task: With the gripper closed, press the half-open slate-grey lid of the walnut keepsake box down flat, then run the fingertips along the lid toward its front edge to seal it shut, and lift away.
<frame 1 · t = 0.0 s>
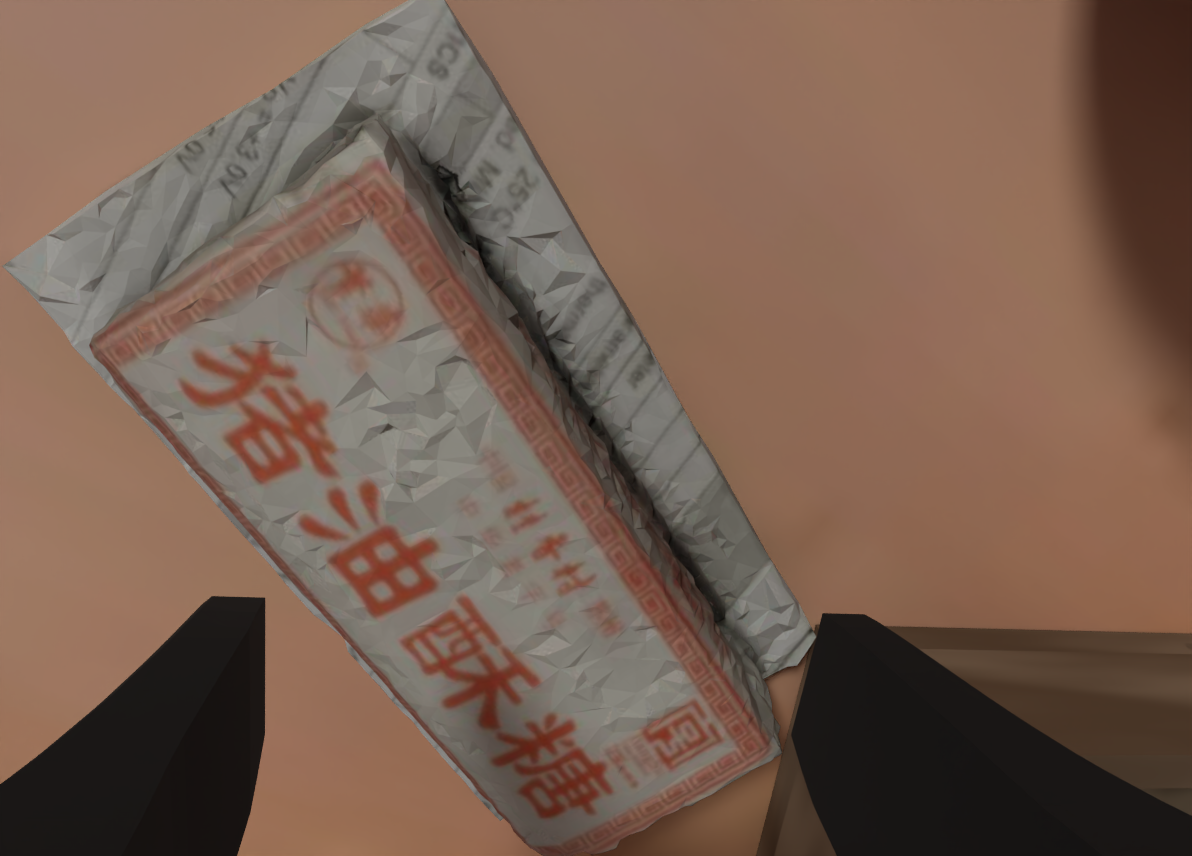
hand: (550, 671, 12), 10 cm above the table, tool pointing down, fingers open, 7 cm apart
box: (940, 845, 29), on the table
packaged product: (472, 455, 23), on the table
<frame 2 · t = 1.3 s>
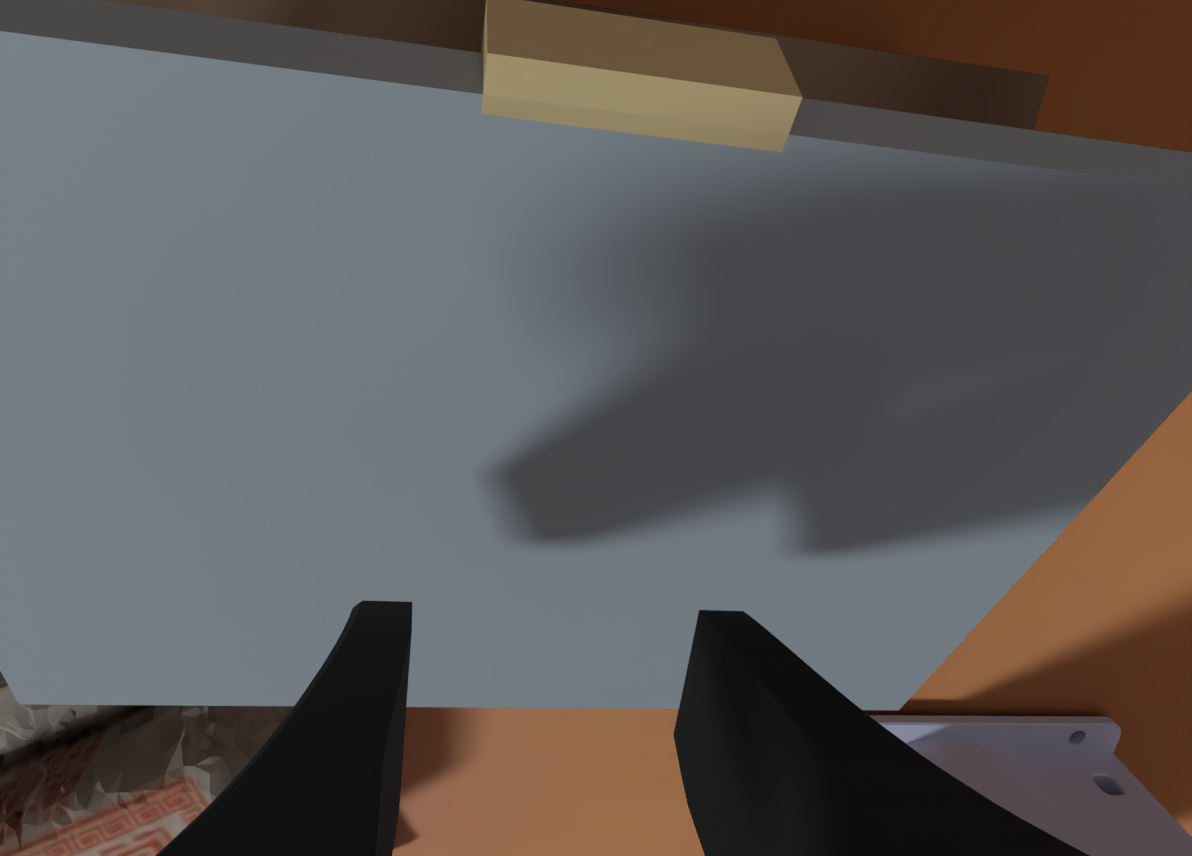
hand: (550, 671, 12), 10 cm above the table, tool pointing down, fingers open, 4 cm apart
box: (509, 303, 21), on the table
lid: (545, 468, 14), point 8 cm above the table, hinge at 25.0°
packaged product: (4, 835, 25), on the table
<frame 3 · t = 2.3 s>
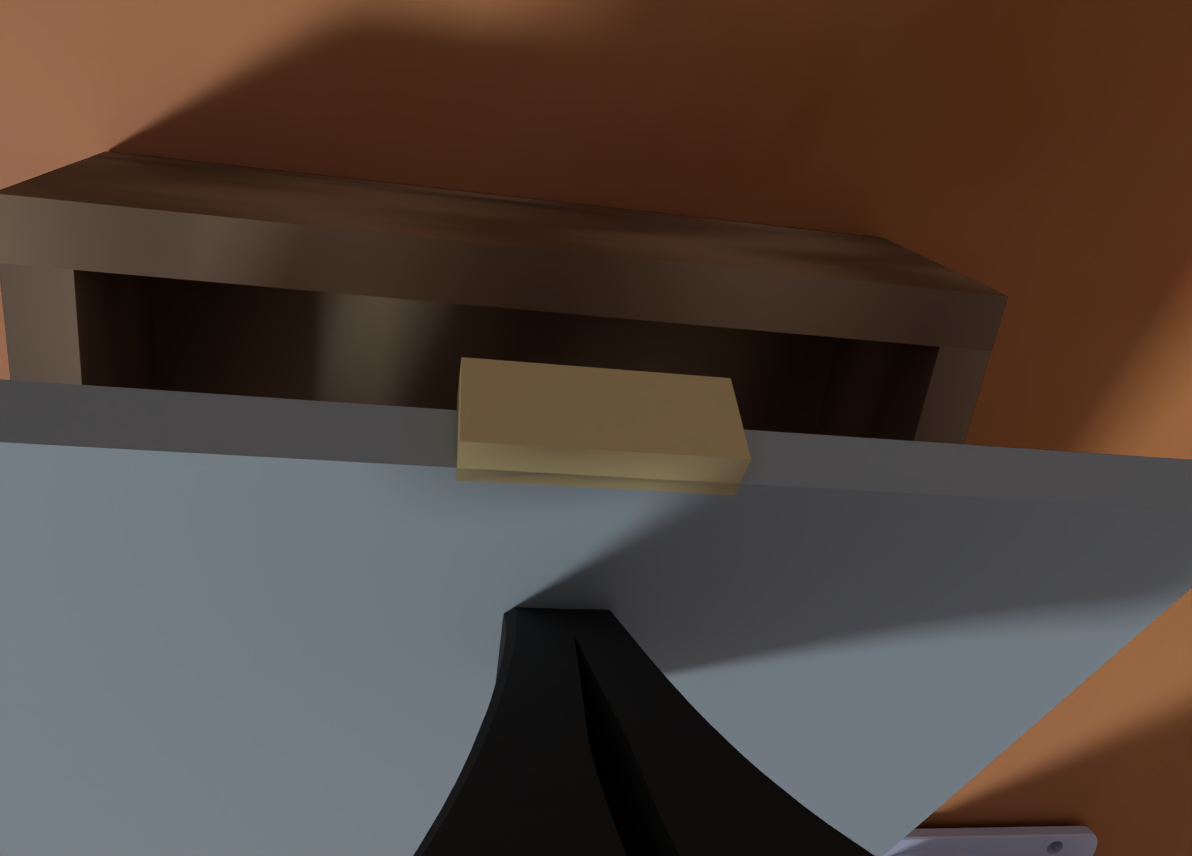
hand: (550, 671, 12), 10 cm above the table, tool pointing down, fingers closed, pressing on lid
box: (498, 462, 22), on the table
lid: (525, 695, 14), point 8 cm above the table, hinge at 24.8°, touching gripper
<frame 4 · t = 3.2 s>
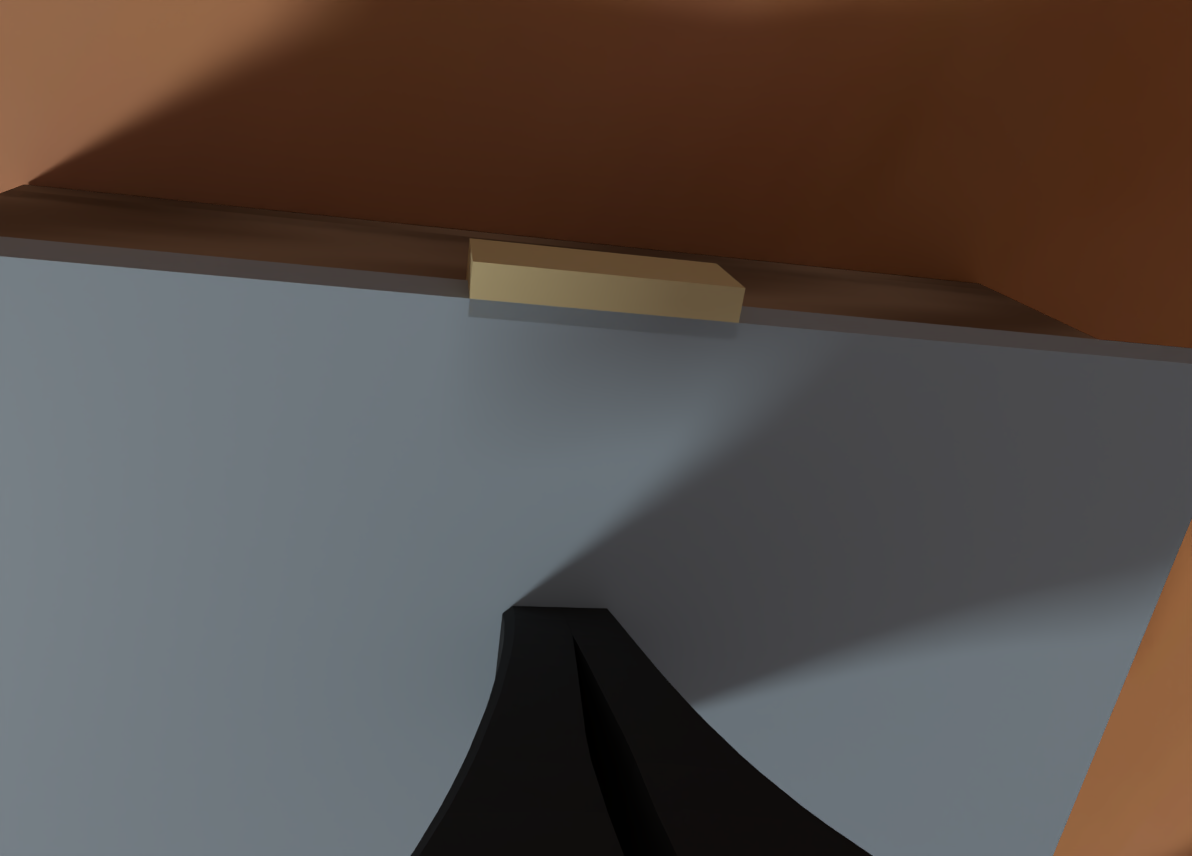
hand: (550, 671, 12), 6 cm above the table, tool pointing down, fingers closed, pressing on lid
box: (512, 551, 18), on the table
lid: (541, 718, 13), point 5 cm above the table, hinge at 0.0°, touching gripper
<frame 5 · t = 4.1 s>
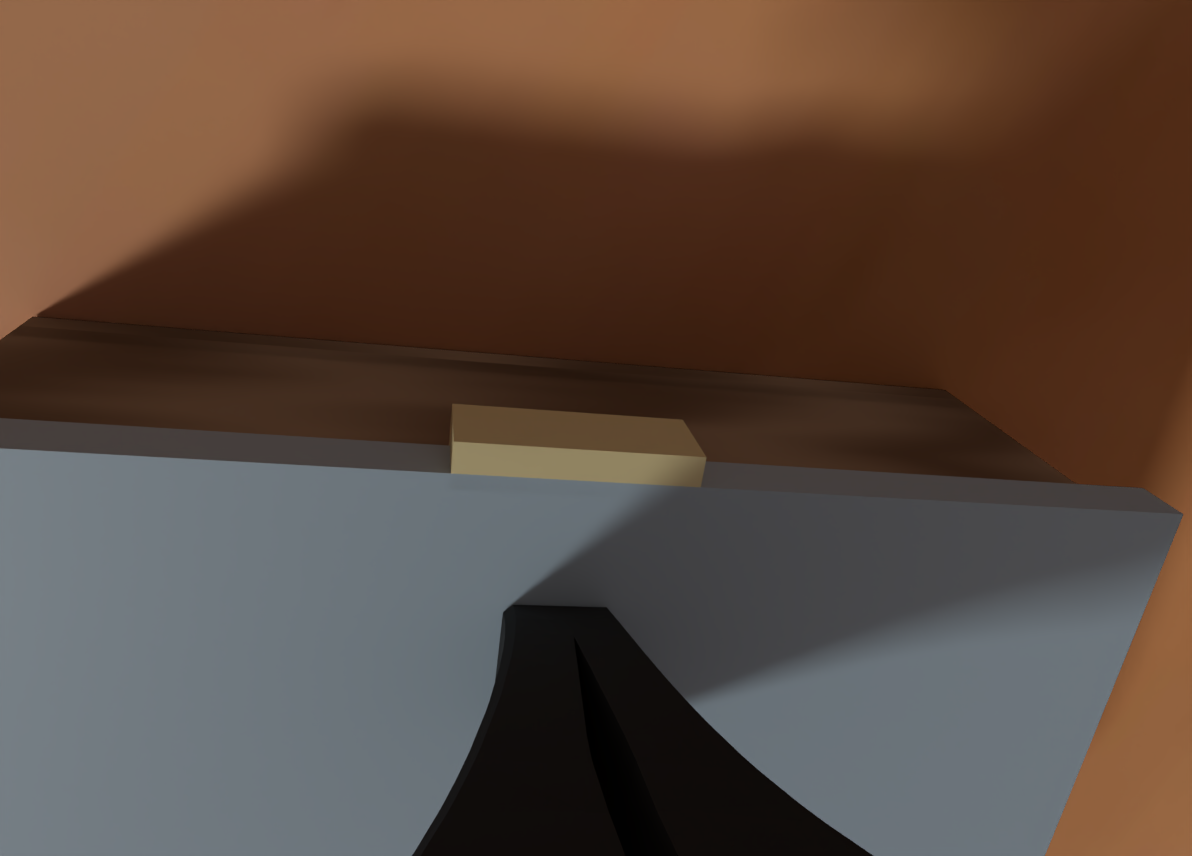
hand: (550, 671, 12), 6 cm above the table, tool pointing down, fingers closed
box: (498, 642, 19), on the table
lid: (521, 830, 14), point 5 cm above the table, hinge at -0.3°, touching box
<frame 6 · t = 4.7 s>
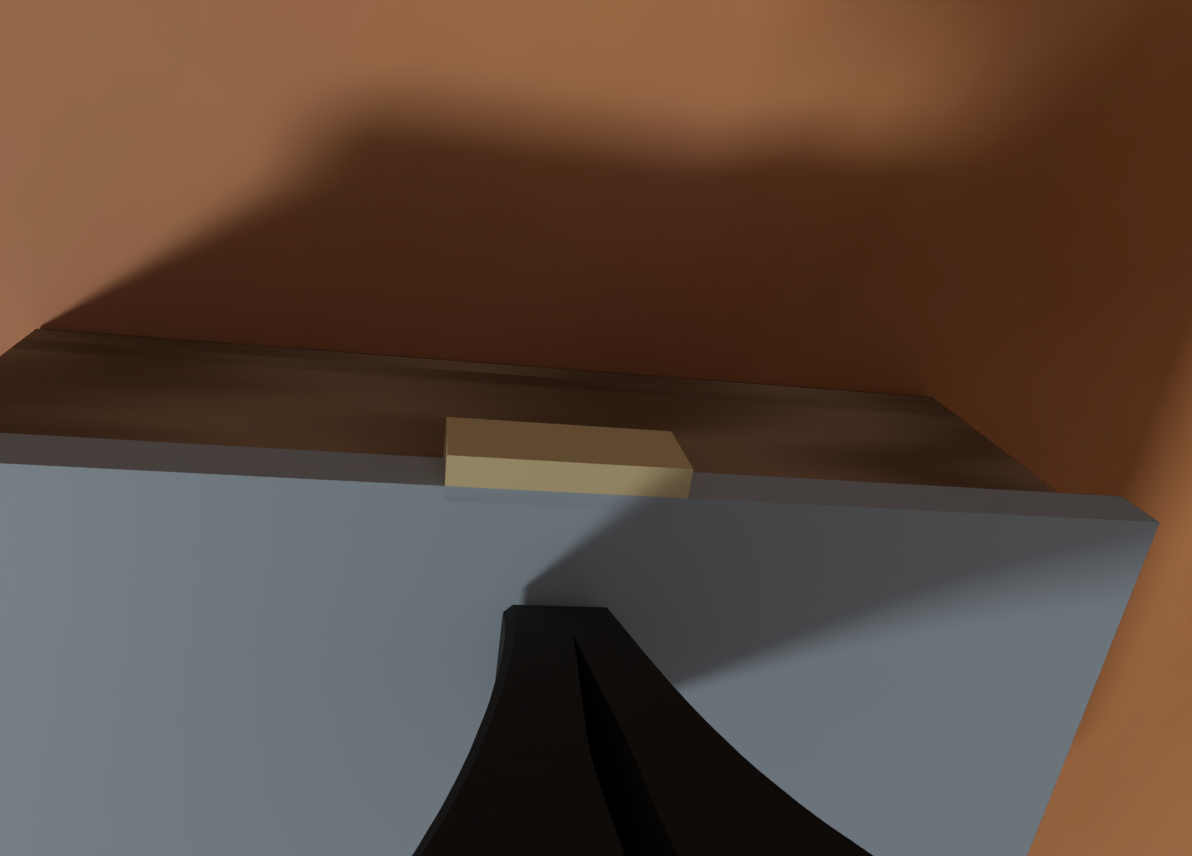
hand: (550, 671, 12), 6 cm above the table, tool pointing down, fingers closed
box: (494, 645, 19), on the table
lid: (515, 831, 14), point 5 cm above the table, hinge at -0.3°, touching box
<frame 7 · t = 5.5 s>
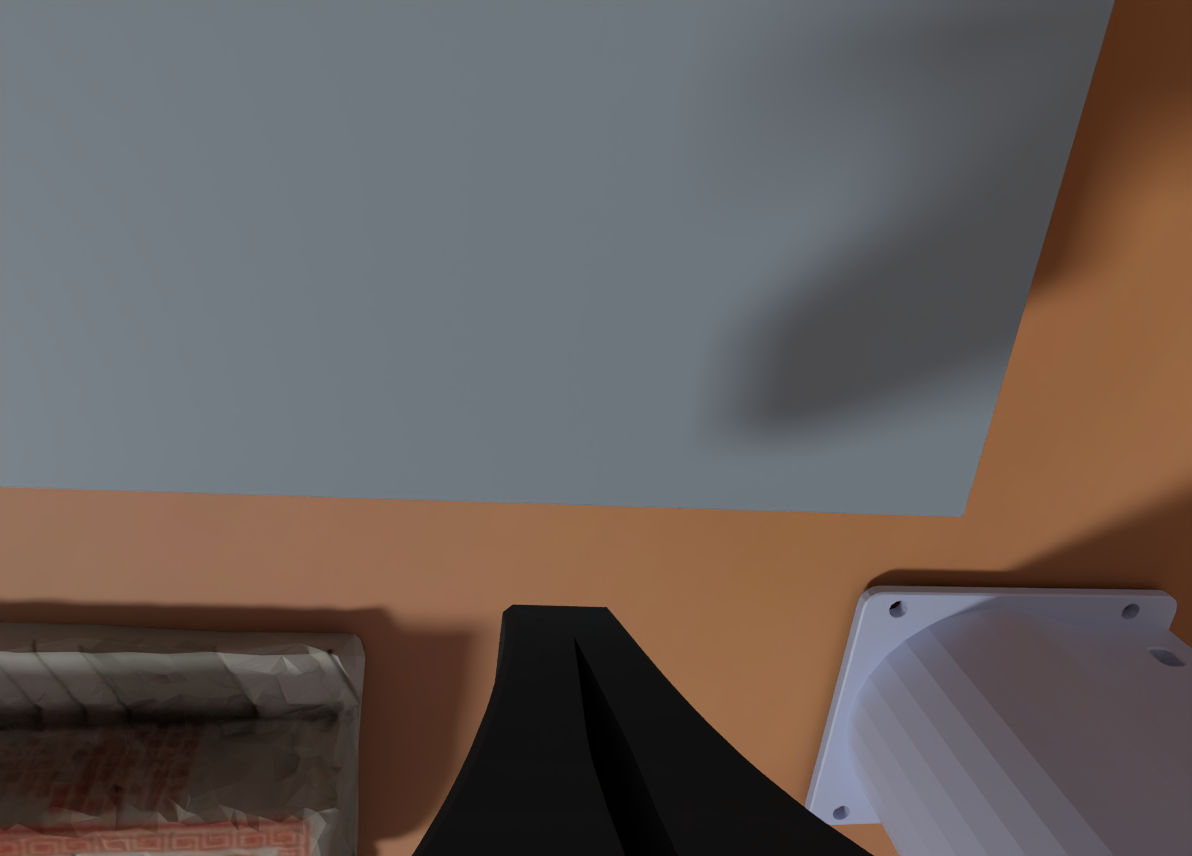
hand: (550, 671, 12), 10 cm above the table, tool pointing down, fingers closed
lid: (548, 100, 14), point 5 cm above the table, hinge at -0.3°, touching box
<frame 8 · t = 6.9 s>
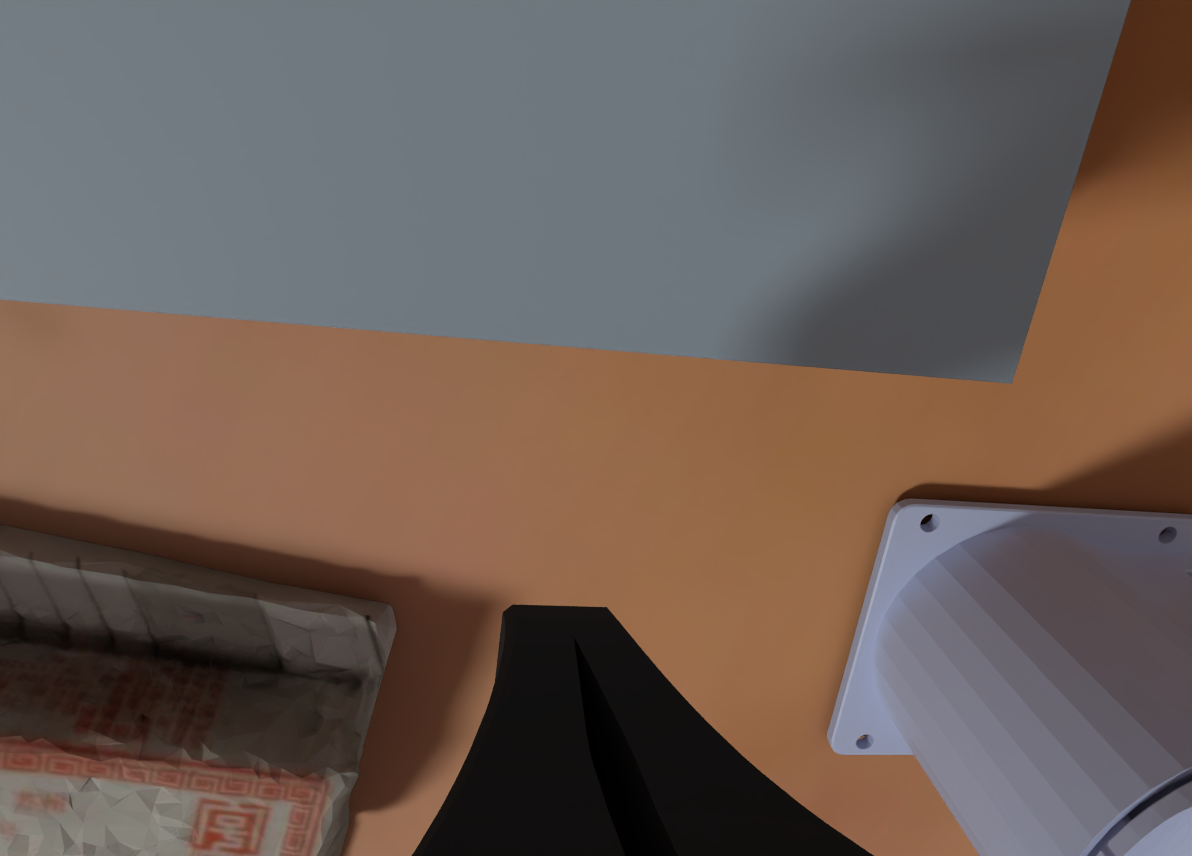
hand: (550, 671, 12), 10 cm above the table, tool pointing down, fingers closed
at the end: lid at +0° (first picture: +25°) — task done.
